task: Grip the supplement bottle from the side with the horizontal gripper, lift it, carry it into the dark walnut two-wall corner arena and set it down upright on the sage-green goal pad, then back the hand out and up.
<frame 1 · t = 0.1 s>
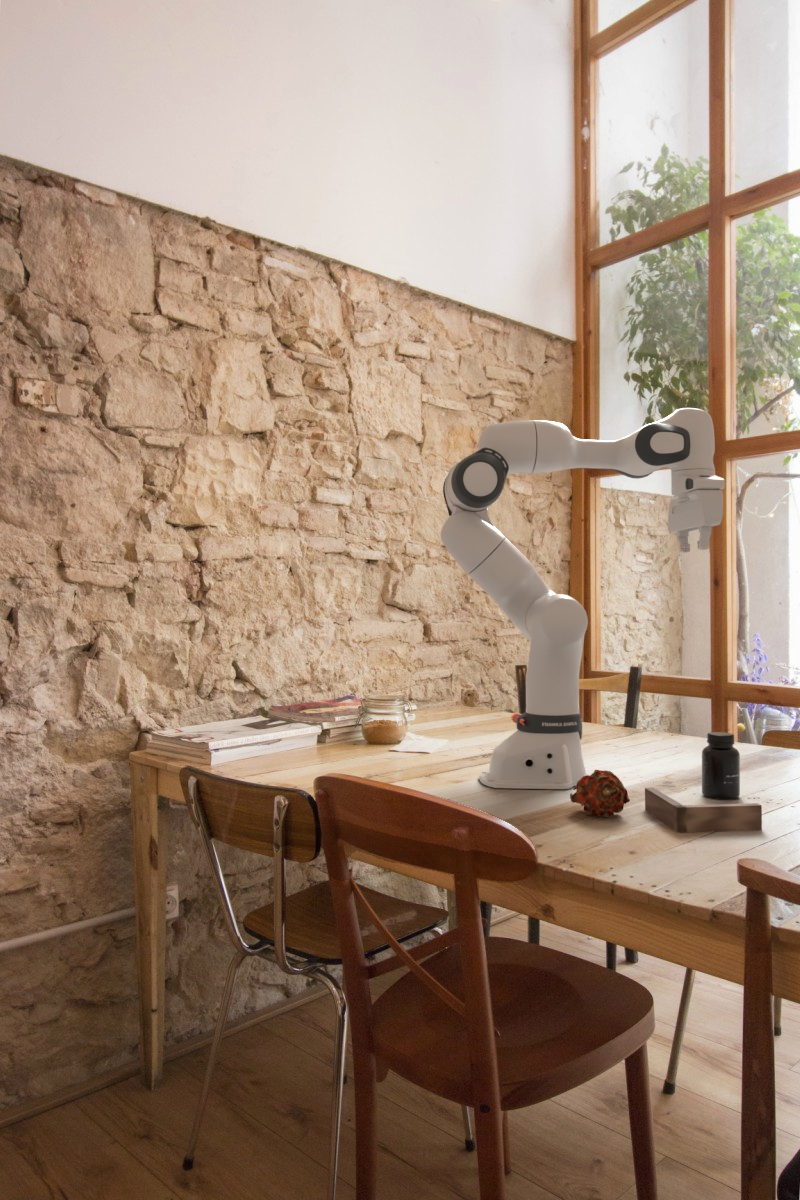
hand: (693, 551, 182), 48 cm above the table, tool pointing down, fingers open, 8 cm apart
supplement bottle: (720, 797, 163), on the table
dragon fruit: (599, 815, 151), on the table
corner arena: (701, 820, 146), on the table
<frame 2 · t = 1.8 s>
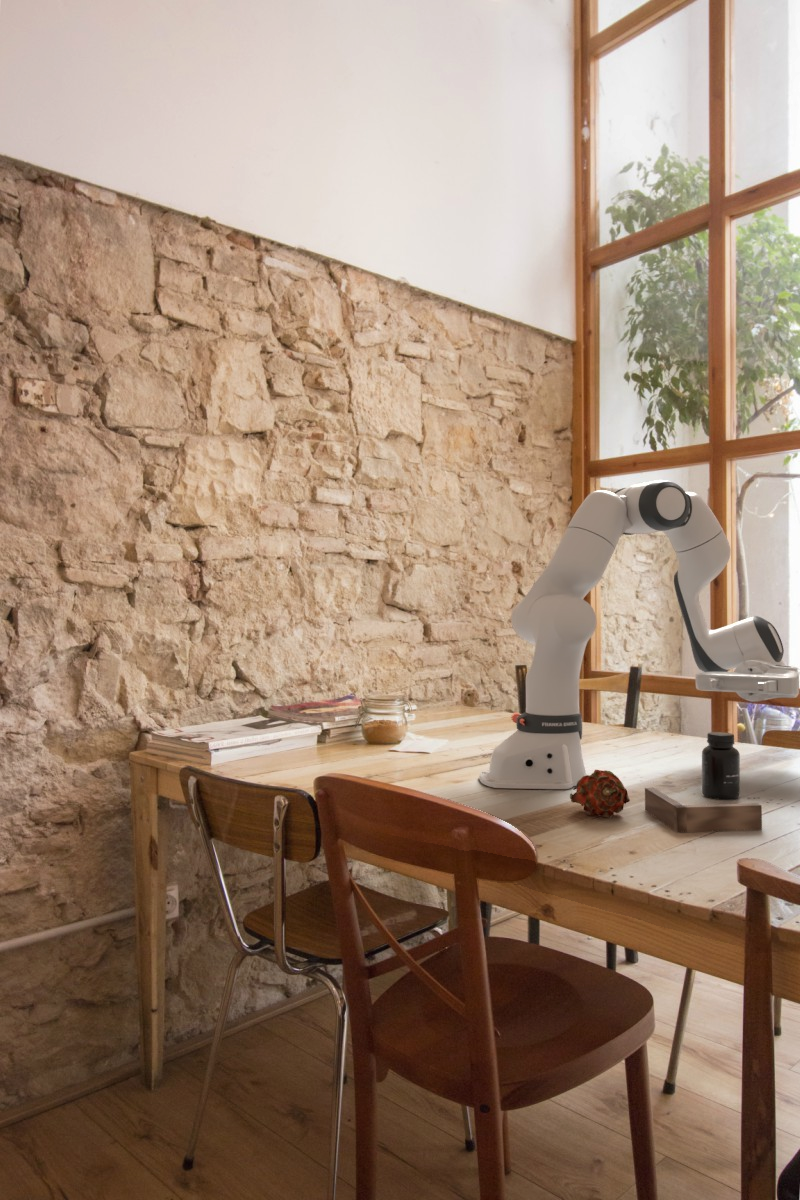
hand: (737, 686, 173), 20 cm above the table, tool horizontal, fingers open, 8 cm apart
nothing on the table moved.
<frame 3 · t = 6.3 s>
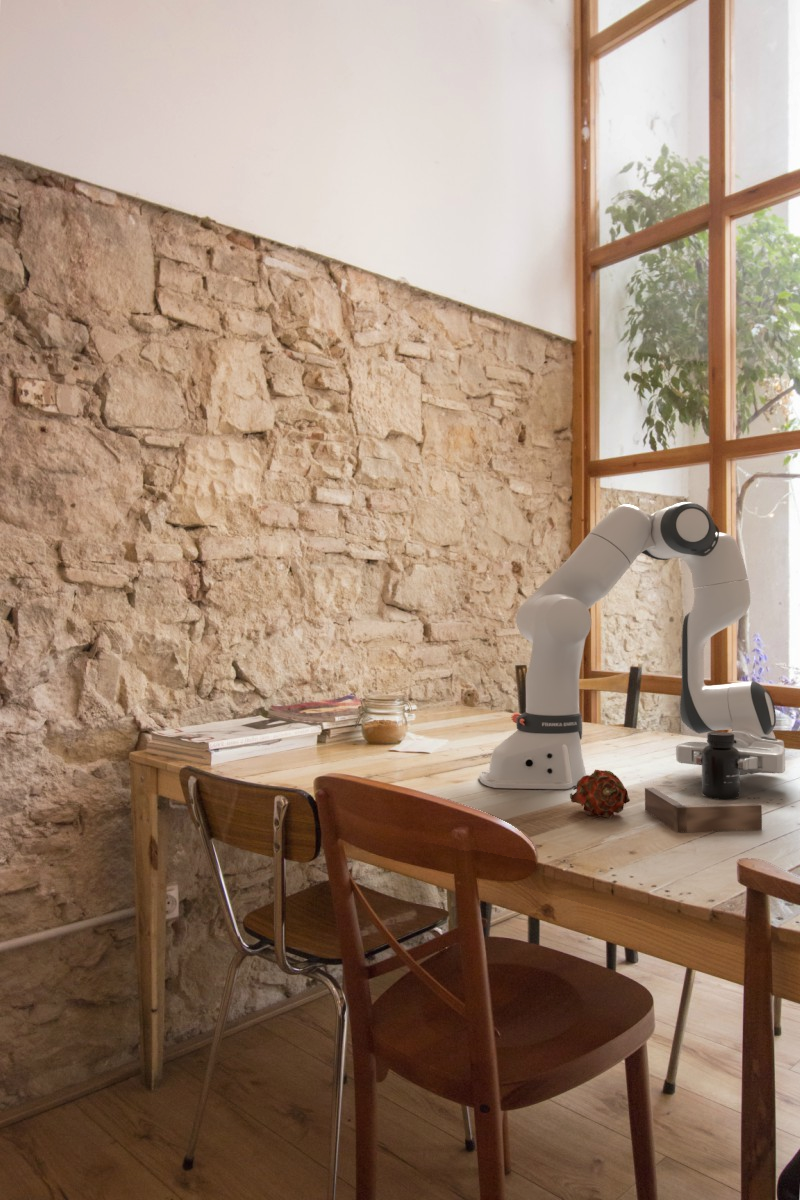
hand: (719, 762, 163), 7 cm above the table, tool horizontal, fingers closed on supplement bottle, 7 cm apart
supplement bottle: (721, 797, 163), on the table, touching gripper
everything else where it was.
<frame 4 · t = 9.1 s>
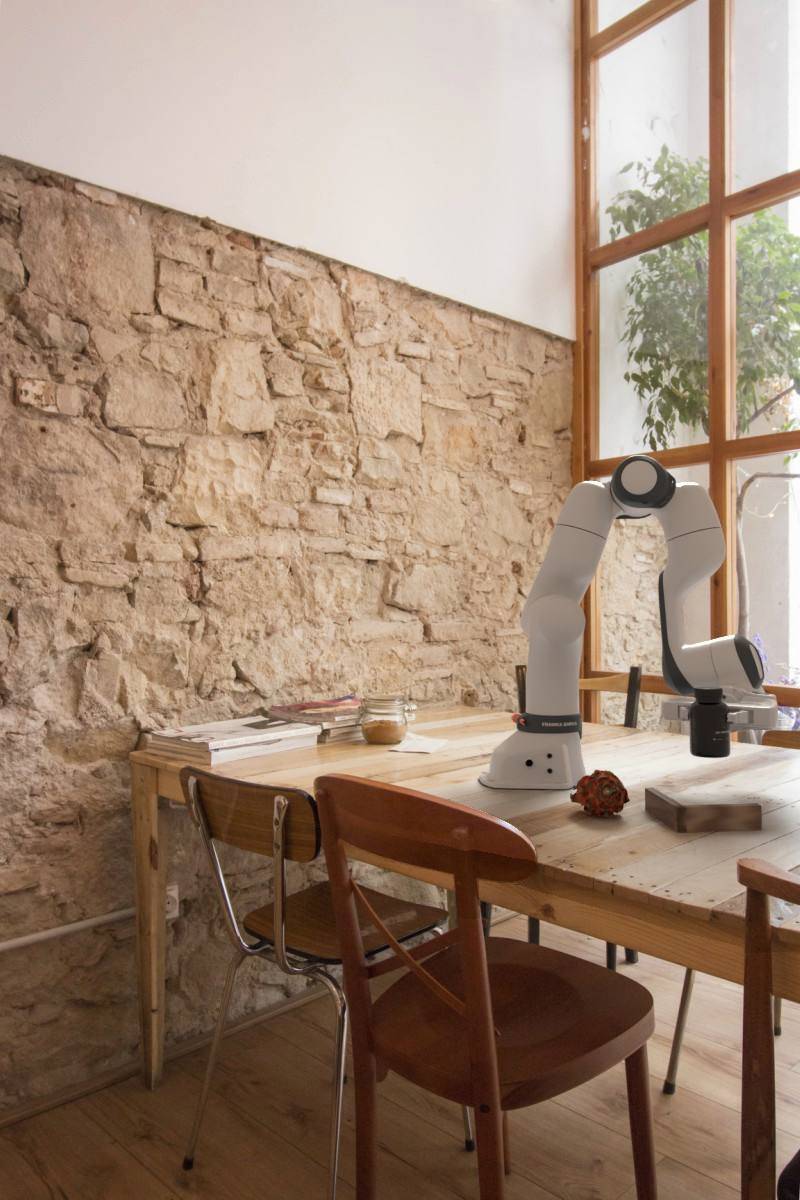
hand: (707, 717, 151), 17 cm above the table, tool horizontal, fingers closed on supplement bottle, 7 cm apart
supplement bottle: (710, 756, 152), point 10 cm above the table, touching gripper
everything else where it was.
when the fingers open (8 cm above the table, at t = 11.8 s): supplement bottle drops 1 cm, resting on corner arena.
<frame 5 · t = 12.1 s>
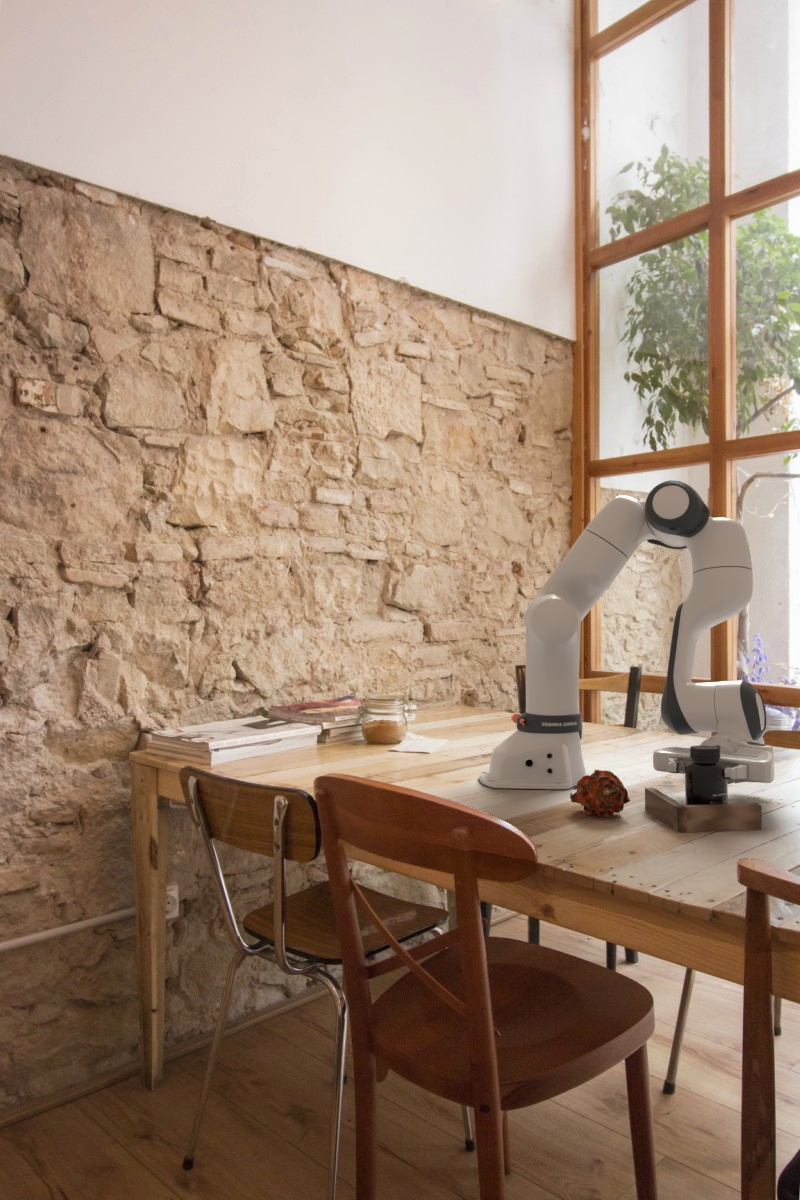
hand: (699, 771, 145), 8 cm above the table, tool horizontal, fingers open, 8 cm apart
supplement bottle: (707, 819, 145), resting on corner arena, touching gripper
everything else where it was.
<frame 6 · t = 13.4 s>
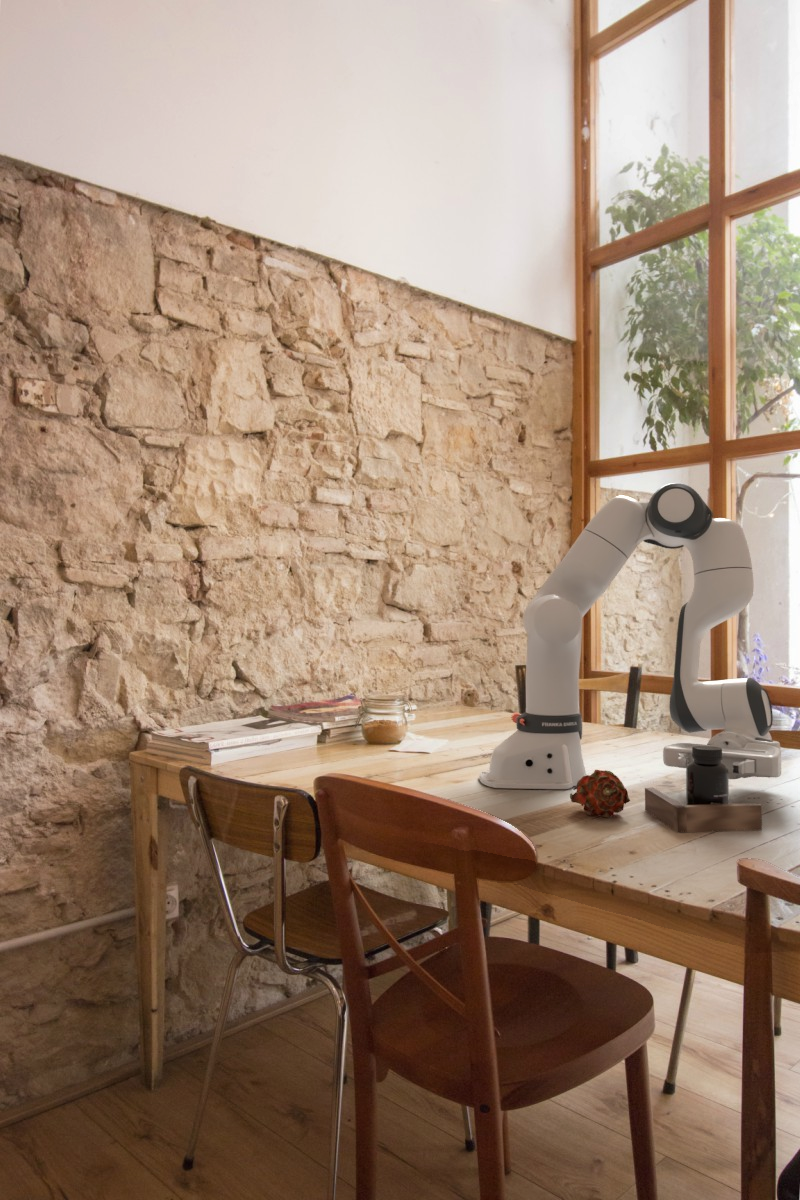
hand: (709, 766, 149), 9 cm above the table, tool horizontal, fingers open, 8 cm apart
supplement bottle: (707, 819, 145), resting on corner arena
everything else where it was.
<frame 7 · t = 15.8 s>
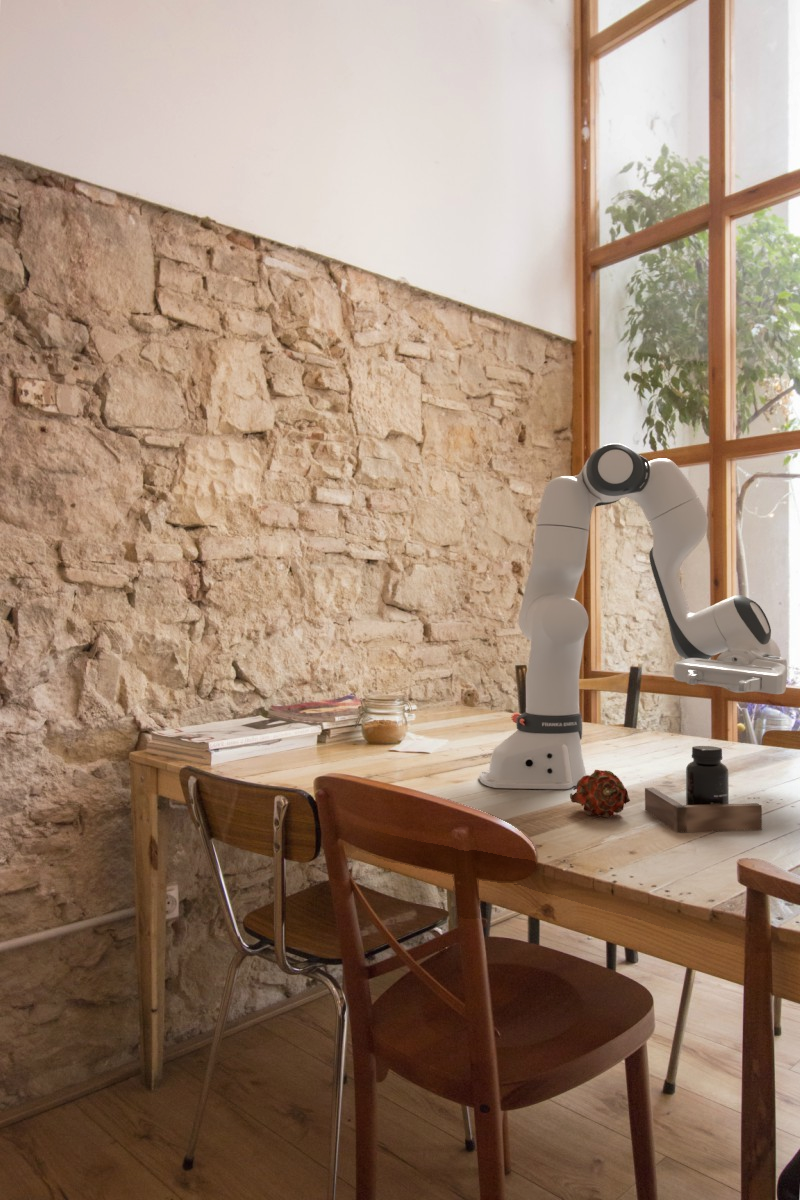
hand: (716, 683, 157), 22 cm above the table, tool horizontal, fingers open, 8 cm apart
nothing on the table moved.
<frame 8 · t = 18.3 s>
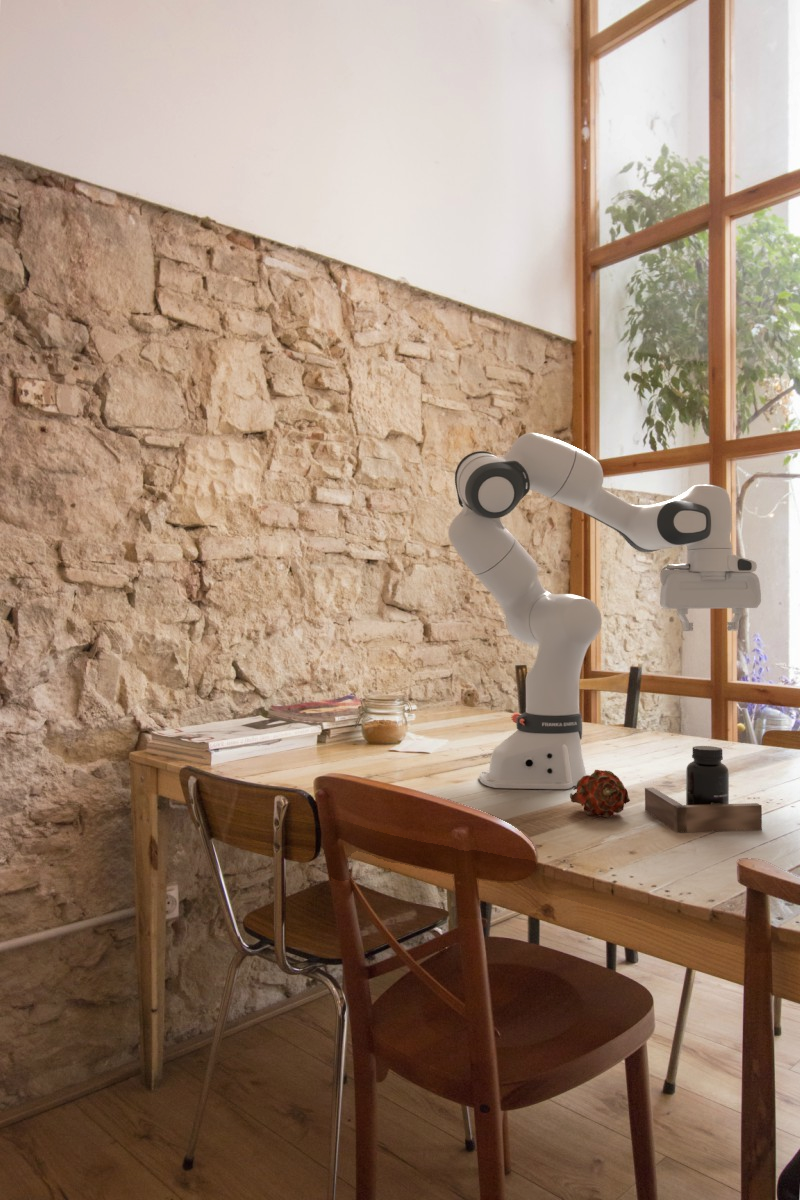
hand: (710, 630, 177), 31 cm above the table, tool pointing down, fingers open, 8 cm apart
nothing on the table moved.
at the end: supplement bottle 0.9 cm off-centre on the corner arena, point 0.2 cm above the corner arena's base; supplement bottle tilted 0°; the gripper is holding nothing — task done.
